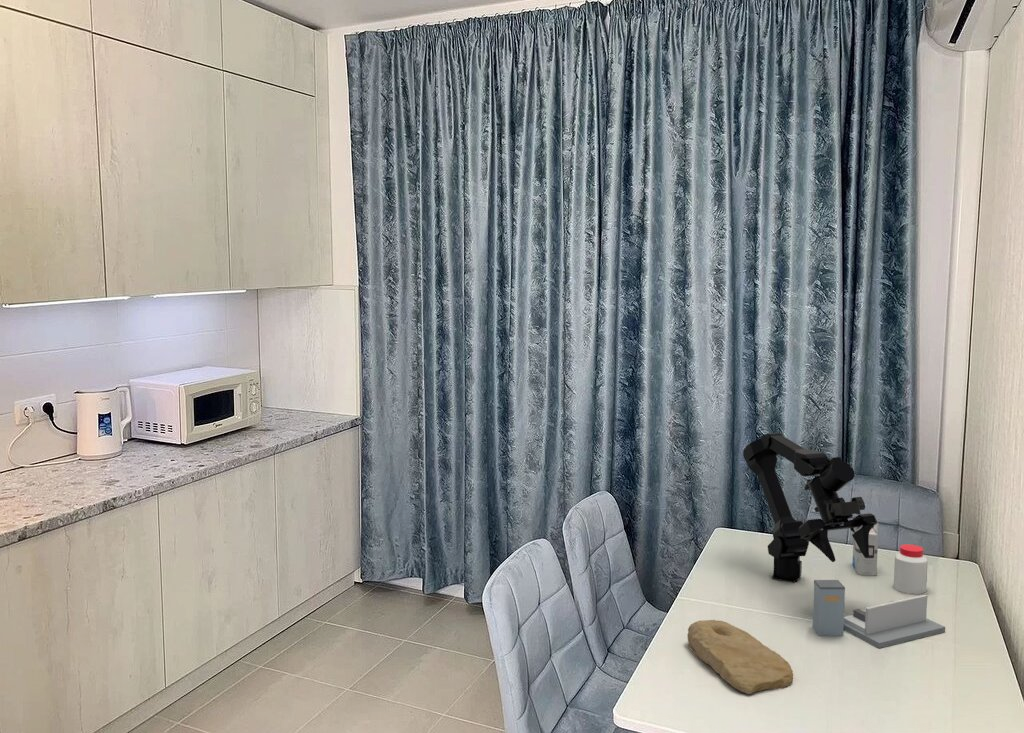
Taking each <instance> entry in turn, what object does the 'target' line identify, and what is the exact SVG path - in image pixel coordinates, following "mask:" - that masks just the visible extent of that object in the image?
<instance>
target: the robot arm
mask: <svg viewBox="0 0 1024 733" xmlns="http://www.w3.org/2000/svg"><path fill="white" fill-rule="evenodd" d="M778 455H779V456H781V457H783V458H784V459H786V460H787V461H789V462H790V463H792V465H793V469H794V470H795V471H796V472H797V473H798V474H799V475H800V476H802V477H813V476H814V477H813V478H811V479H807V480H806V481H807V482H806V484H805V486H804V490H805V491H810V492H811V495H812V498H813V501H814V502H815V505H816V507H815V508H813V509H814V510H815V511H814V512H815V513H819V515H820V518H815V519H807V520H806V521H804V522H803V521H801V520H796V519H795V518H794V517H793V514H792V513H791V509H790V507H789V504H788V501H787V499H786V495H785V493H784V491H783V487H782V484H781V482H780V480H779V477H778V475H777V474H778V473H777V472H776V467H777V464H778V463H777V462H778ZM742 456H743V458H744V460H745V463H746V464H747V466H748V467H747V468H748V469H750V470H751V472H753V473H754V474H755V475H756V476H757V477H758V479H759V483H760V486H761V489H762V492H763V494H764V497H765V499H766V500H765V501H766V503H767V505H768V508H769V510H770V514H771V516H772V520H773V522H774V527H773V531H772V537H773V539H772V540H771V541H770V543H769V544H768V545H767V552H768V553H767V554H768V555H770V556H771V557H773V574H772V576H771V579H773V580H776V581H777V580H778V581H784V582H790V583H791V582H792V583H798V581H799V580H800V579H801V577H802V575H803V574H802V572H803V571H802V569H803V567H802V565H803V564H802V563H803V562H802V560H800V559H801V557H806V555H807V551H808V550H809V549H808V548H809V544H810V543H811V544H812V545H813V546H815V547H816V548H817V549H818V550H820V552H822V554H824V556H825V557H826V558H827V559H828V560H829V561H831V563H834V562H836V557H835V553H834V550H833V548H832V545H831V543H830V541H829V538H828V536H829V534H828V532H829V531H836V530H846V529H850V531H852V534H851V536H852V538H854V540H855V541H856V543H857V545H858V547H859V549H860V550H861V552H862V554H863V555H864V557H865V558H868V557H869V532H870V530H871V529H872V528H874V525H875V526H876V524H877V523H878V524H879V522H878V520H877V518H876V515H875V514H872V513H870V512H868V513H862V512H861V511H864V510H865V509H866V503H865V501H864V499H863V497H862V496H857V497H856V496H855V497H851V500H850V501H845V499H844V497H840V496H839V494H838V492H839V491H841V490H842V489H843V488H844V487H846V486H847V485H849V483H850V482H852V481H853V480H854V478H855V470H854V468H853V467H852V466H851V465H850V464H849V463H848V462H846V461H843V459H842V458H841V456H835V457H833V456H832V458H831V459H830V458H829V457H828V455H827V454H826V453H825V452H822V451H819V450H814V449H807V448H805V447H802V446H800V445H799V444H797V443H795V442H794V441H793V440H791V439H789V438H788V437H785V436H784V435H783V433H780V432H769V433H764V434H763V435H762V436H761V437H759V438H757V439H755V440H754V441H752V442H750V443H749V444H748V443H747V445H746V446H745V448H744V449H743V452H742ZM853 515H856V516H855V517H854V516H853ZM852 517H854V518H852ZM851 518H852V519H851Z"/></svg>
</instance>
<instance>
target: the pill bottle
mask: <svg viewBox="0 0 1024 733" xmlns="http://www.w3.org/2000/svg"><path fill="white" fill-rule="evenodd" d="M928 562H929V560H928V557H927V556H926V555H924V547H922V546H919V545H916V544H908V543H907V544H905V543H904V544H902V545H900V546H899V551H898V552H896V554H894V564H893V566H894V567H893V568H894V569H893V570H894V572H893V589H895V590H896V591H899V592H900V591H901V592H900V593H903V592H904V594H907V593H909V594H908V595H921V594H920V593H923V594H925V593H926V592H927V587H928V586H927V585H928V584H927V583H928ZM924 592H925V593H924Z"/></svg>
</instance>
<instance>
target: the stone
mask: <svg viewBox="0 0 1024 733" xmlns="http://www.w3.org/2000/svg"><path fill="white" fill-rule="evenodd" d="M687 632H688V633H687V634H686V635H687V636H686V638H687V643H688V646H689V649H690V648H691V649H692V650H691V649H690V650H691V651H692V653H693V652H694V653H695V655H696V656H697V657H698V659H700V660H702V661H703V662H704V663H705V664H707V665H709V666H710V667H711V668H712V669H713V670H714V671H715V673H717V674H719V676H720V677H721V679H722V680H724V681H725V682H726V683H728V684H729V685H730V686H731V687H733V688H734V689H736V690H738V691H740V692H741V693H745V694H747V695H751V694H753V693H756V692H760V691H763V690H771V689H779V688H786V687H789V685H790V684H792V683H793V681H794V673H793V672H794V671H793V668H792V666H791V665H790V663H789V662H788V661H787V660H786V659H785V658H784V657H782V655H781V654H779V653H777V652H776V651H775V650H772V649H771V648H769V647H768V646H766V645H765V644H763V643H762V642H761V641H760V640H759V639H757V638H756V637H755V636H753V635H751V634H750V633H749V632H747V631H745V630H743V629H741V628H739V627H736V626H735V625H733V624H730V623H728V622H726V621H724V620H716V619H706V620H705V619H704V620H703V619H702V620H697V621H695V622H692V623H691V624H690V625H689V626H688V628H687ZM694 653H693V654H694Z"/></svg>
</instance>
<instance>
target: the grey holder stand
mask: <svg viewBox="0 0 1024 733" xmlns="http://www.w3.org/2000/svg"><path fill="white" fill-rule="evenodd" d="M927 606H928V595H926V594H919V595H917V596H911V597H908V598H903V599H899V600H892V601H888V602H885V603H881V604H875V605H871V606H867V607H865V611H864V610H862V609H860V608H856V609H853V610H852V611H853V612H852V614H849V615H848V614H847V615H844V627H843V631H846V632H848V633H849V634H850V635H851V634H852V635H854V636H855V637H857V638H859V639H861V640H862V641H865V642H866V643H869V644H870V645H872V646H874V647H875V648H878V649H882V648H886V647H889V646H893V645H897V644H902V643H906V642H910V641H915V640H917V639H922V638H926V637H930V636H934V635H935V636H936V635H938V634H942V633H946V626H944V625H942V624H940V623H938V622H936V621H933V620H931V619H929V618H927V612H928V611H927V610H928V607H927Z"/></svg>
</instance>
